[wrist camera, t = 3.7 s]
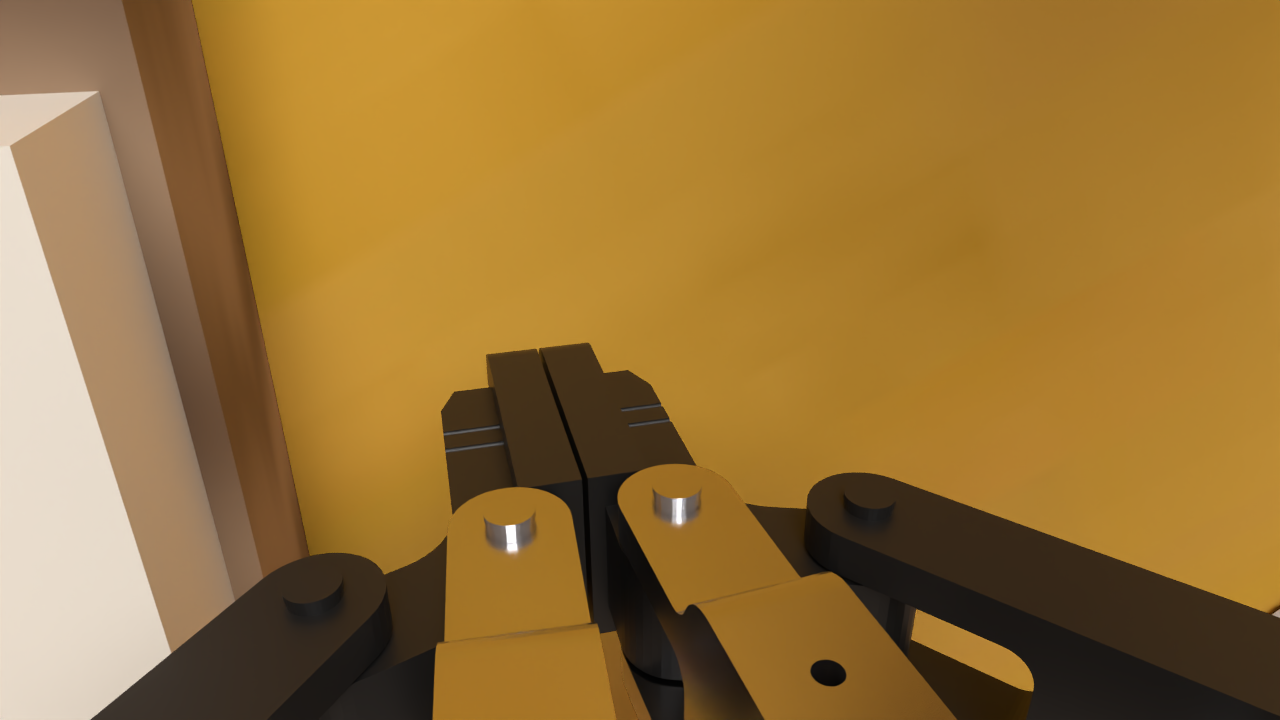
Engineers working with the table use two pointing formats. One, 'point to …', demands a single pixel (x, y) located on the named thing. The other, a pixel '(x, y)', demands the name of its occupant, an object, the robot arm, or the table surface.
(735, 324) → the table surface
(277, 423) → the brown wooden block
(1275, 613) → the laptop
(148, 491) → the thick cream block
